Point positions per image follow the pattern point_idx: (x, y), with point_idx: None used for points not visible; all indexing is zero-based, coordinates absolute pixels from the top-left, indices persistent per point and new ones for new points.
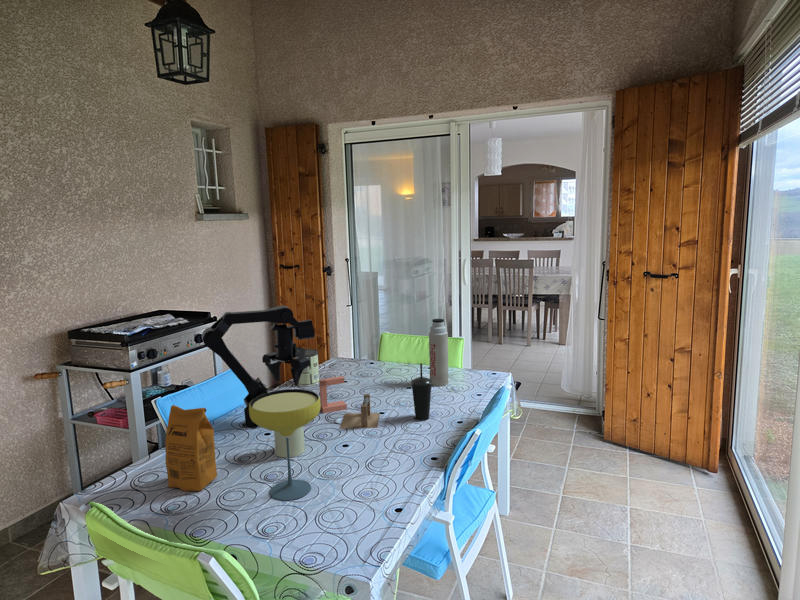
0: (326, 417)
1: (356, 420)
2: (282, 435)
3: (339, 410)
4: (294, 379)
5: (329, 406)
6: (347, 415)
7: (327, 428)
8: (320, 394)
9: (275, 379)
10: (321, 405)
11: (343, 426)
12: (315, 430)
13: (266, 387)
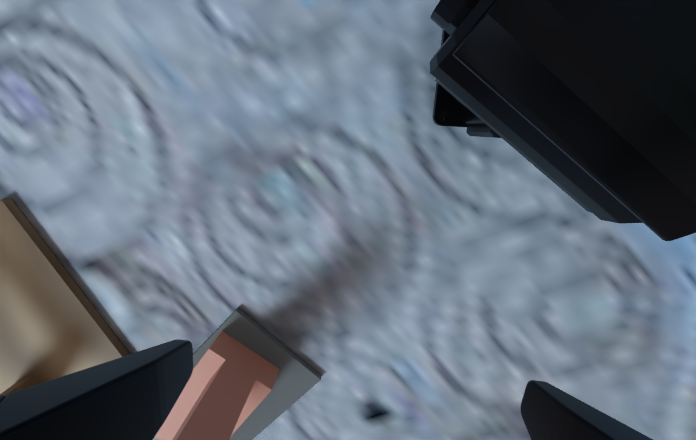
0: (188, 305)
1: (15, 314)
2: None
3: None
4: (62, 383)
5: (201, 382)
6: (97, 349)
7: (76, 191)
8: (214, 433)
9: (575, 400)
10: (234, 372)
11: (4, 228)
12: (106, 142)
13: (536, 107)
